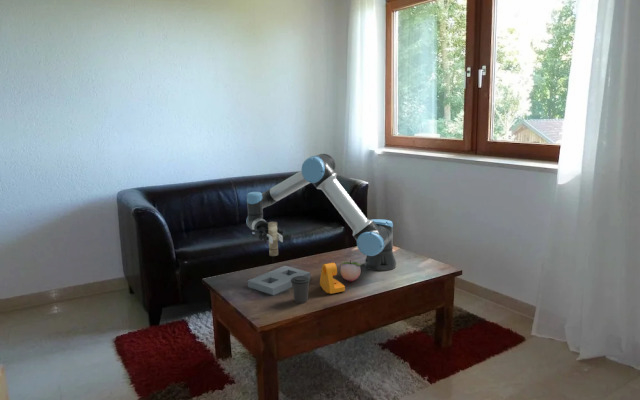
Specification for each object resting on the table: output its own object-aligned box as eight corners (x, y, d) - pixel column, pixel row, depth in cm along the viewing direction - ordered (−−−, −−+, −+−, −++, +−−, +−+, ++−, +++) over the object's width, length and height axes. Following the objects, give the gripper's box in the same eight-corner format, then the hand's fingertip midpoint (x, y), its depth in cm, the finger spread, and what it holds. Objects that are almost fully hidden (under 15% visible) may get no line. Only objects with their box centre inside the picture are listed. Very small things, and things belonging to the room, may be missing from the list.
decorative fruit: (340, 285, 214) (340, 263, 212) (340, 278, 222) (340, 257, 220) (361, 285, 213) (361, 263, 211) (360, 278, 221) (360, 257, 219)
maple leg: (280, 254, 221) (279, 222, 218) (273, 256, 218) (272, 224, 215) (274, 252, 224) (272, 221, 221) (267, 254, 221) (265, 223, 218)
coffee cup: (313, 302, 196) (313, 279, 194) (294, 306, 193) (293, 282, 191) (307, 295, 203) (306, 272, 201) (288, 298, 201) (288, 275, 199)
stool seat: (285, 271, 232) (285, 265, 232) (310, 278, 222) (310, 272, 221) (247, 286, 214) (247, 280, 214) (273, 295, 204) (273, 288, 203)
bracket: (345, 292, 206) (345, 265, 203) (330, 295, 203) (329, 268, 200) (334, 284, 215) (334, 258, 213) (319, 286, 212) (319, 260, 210)
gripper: (278, 232, 239) (295, 245, 218) (244, 237, 233) (258, 250, 212) (277, 218, 238) (294, 229, 217) (243, 222, 231) (258, 234, 210)
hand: (276, 239), depth 214 cm, fingers closed on maple leg, 4 cm apart
